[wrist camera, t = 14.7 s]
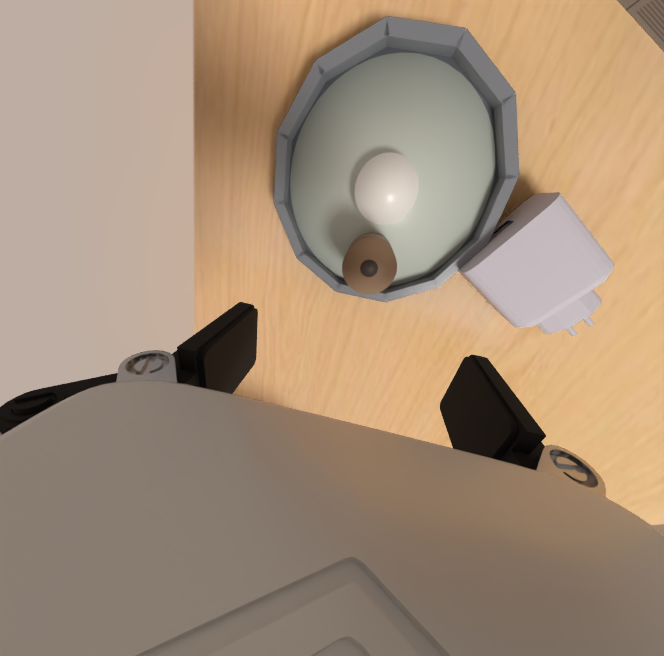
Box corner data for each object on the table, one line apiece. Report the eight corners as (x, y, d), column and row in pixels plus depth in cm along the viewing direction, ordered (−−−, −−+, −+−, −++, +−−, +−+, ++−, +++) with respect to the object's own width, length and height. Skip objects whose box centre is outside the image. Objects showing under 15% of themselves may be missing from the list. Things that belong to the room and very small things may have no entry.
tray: (448, 308, 30) (454, 317, 28) (277, 272, 31) (270, 277, 29) (556, 62, 19) (579, 44, 17) (292, 22, 21) (283, 0, 18)
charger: (528, 343, 31) (451, 263, 28) (611, 293, 27) (531, 193, 24) (553, 366, 26) (465, 274, 23) (656, 310, 22) (566, 191, 19)
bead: (385, 281, 28) (388, 299, 23) (344, 272, 29) (337, 288, 23) (398, 237, 26) (404, 245, 21) (352, 228, 26) (347, 234, 21)
